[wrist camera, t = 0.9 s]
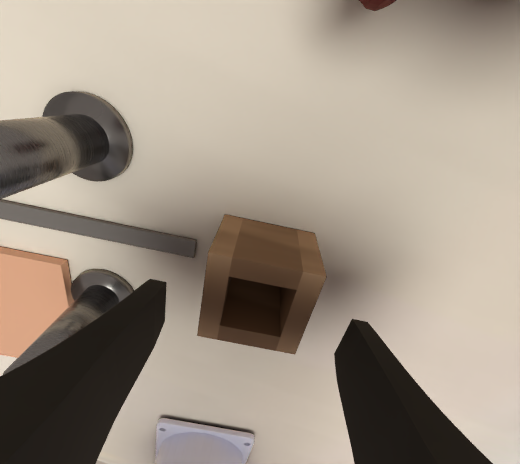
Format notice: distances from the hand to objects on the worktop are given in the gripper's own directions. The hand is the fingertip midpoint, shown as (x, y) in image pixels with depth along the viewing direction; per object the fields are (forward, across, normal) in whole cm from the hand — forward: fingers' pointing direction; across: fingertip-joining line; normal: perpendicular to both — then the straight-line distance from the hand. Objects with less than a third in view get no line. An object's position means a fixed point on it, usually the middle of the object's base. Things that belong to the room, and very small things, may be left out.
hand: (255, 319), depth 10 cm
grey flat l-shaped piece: (+4, +10, +1) cm, 10 cm away
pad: (+4, +15, +7) cm, 17 cm away
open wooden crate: (+4, 0, 0) cm, 4 cm away
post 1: (+4, +8, -4) cm, 10 cm away
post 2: (+4, +8, +5) cm, 11 cm away
